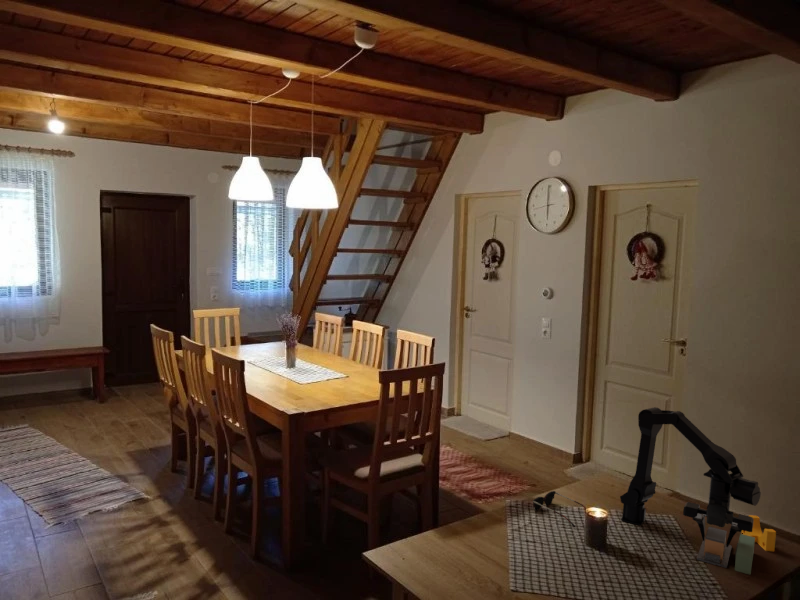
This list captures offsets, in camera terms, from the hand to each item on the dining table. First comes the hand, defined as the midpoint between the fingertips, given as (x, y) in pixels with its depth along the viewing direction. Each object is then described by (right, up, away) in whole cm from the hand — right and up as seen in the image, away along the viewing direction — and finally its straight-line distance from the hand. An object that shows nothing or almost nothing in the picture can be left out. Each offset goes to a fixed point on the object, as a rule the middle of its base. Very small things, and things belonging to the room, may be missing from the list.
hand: (715, 543), depth 188 cm
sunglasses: (-41, 0, +24) cm, 47 cm away
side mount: (0, -3, 0) cm, 3 cm away
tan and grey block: (0, -3, 0) cm, 3 cm away
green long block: (+7, -4, -4) cm, 9 cm away
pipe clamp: (+18, -4, +10) cm, 21 cm away
